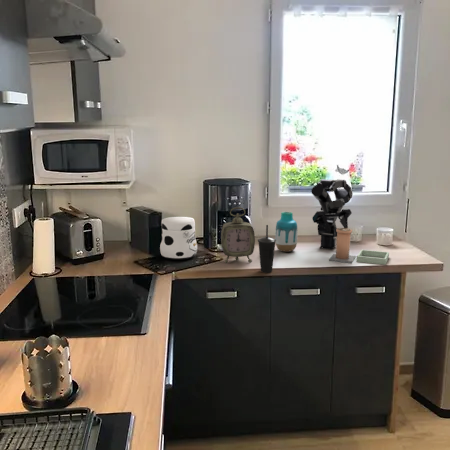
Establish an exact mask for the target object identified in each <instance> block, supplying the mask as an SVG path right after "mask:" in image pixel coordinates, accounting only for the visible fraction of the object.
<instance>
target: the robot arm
mask: <svg viewBox="0 0 450 450" xmlns="http://www.w3.org/2000/svg"><path fill="white" fill-rule="evenodd" d="M310 192H311V195H313V196H314V198H315V199H316V200H317V201H318V203H319V205H320V211H319V210H318V211H316V212H315V213H314V215H313V216H312V217H311V218H312V222H313V223H316V225H317V235H318V236H320V246H319V248H320V249H326V250H327V249H328V250H334V248H336V243H337V232H336V229H337V228H338V227H337V224H336V221H337V220H338V219H339V222H340V224H341V225H342V228H348V229H349V227H348V225H349V223H348V219H349V217H350V216H351V215H352V211H351V209H350V208H346V209H344V208H343V207H344V206H345V205H346V204H348V203H350V201H351V199H352V198H353V190H352V187H351V186H350V185H349V184H348V183H347V180H345V179H340V178H338V179H320V181H319V182H317V183H316V185H314V186H313V187H312V188H311V191H310ZM331 192H332V193H334V196H335V197H334V198H335V200H332V198H331V196H330V193H331Z"/></svg>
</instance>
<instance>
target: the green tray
mask: <svg viewBox="0 0 450 450" xmlns="http://www.w3.org/2000/svg"><path fill="white" fill-rule="evenodd" d="M389 257H390V252H388V251H381V250H368V249H360V251H359V252H358V254H357V255H356V262H358V263H367V264H377V265H387V262H388V260H389Z"/></svg>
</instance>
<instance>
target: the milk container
mask: <svg viewBox="0 0 450 450" xmlns="http://www.w3.org/2000/svg"><path fill="white" fill-rule="evenodd" d="M195 221H196V220H195V218H193V217H190V216H169V217H165V218H162V219H161V226H160V227H161V229H160V230H161V231H160V232H161V242H160V245H159V246H160V247H159V250H160V251H159V252H160V254H161V256H162V257H163V258H165V259H168V260H174V261H175V260H176V261H177V260H179V261H181V260H187V259H192V258H194V257H195V256H196V255H197V254H198V253H197V252H198V243H197V240H196V222H195Z"/></svg>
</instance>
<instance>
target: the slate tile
mask: <svg viewBox="0 0 450 450" xmlns="http://www.w3.org/2000/svg"><path fill="white" fill-rule="evenodd" d="M335 256H336V253H333V254H332V255H331V256H330V258H329V259H328V261H329V262H337V263H344V264H347V263H348V264H352V263H353V261H354V260H355V258H356V255H350V254H349V258H348V259H339V258H336V257H335Z"/></svg>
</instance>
